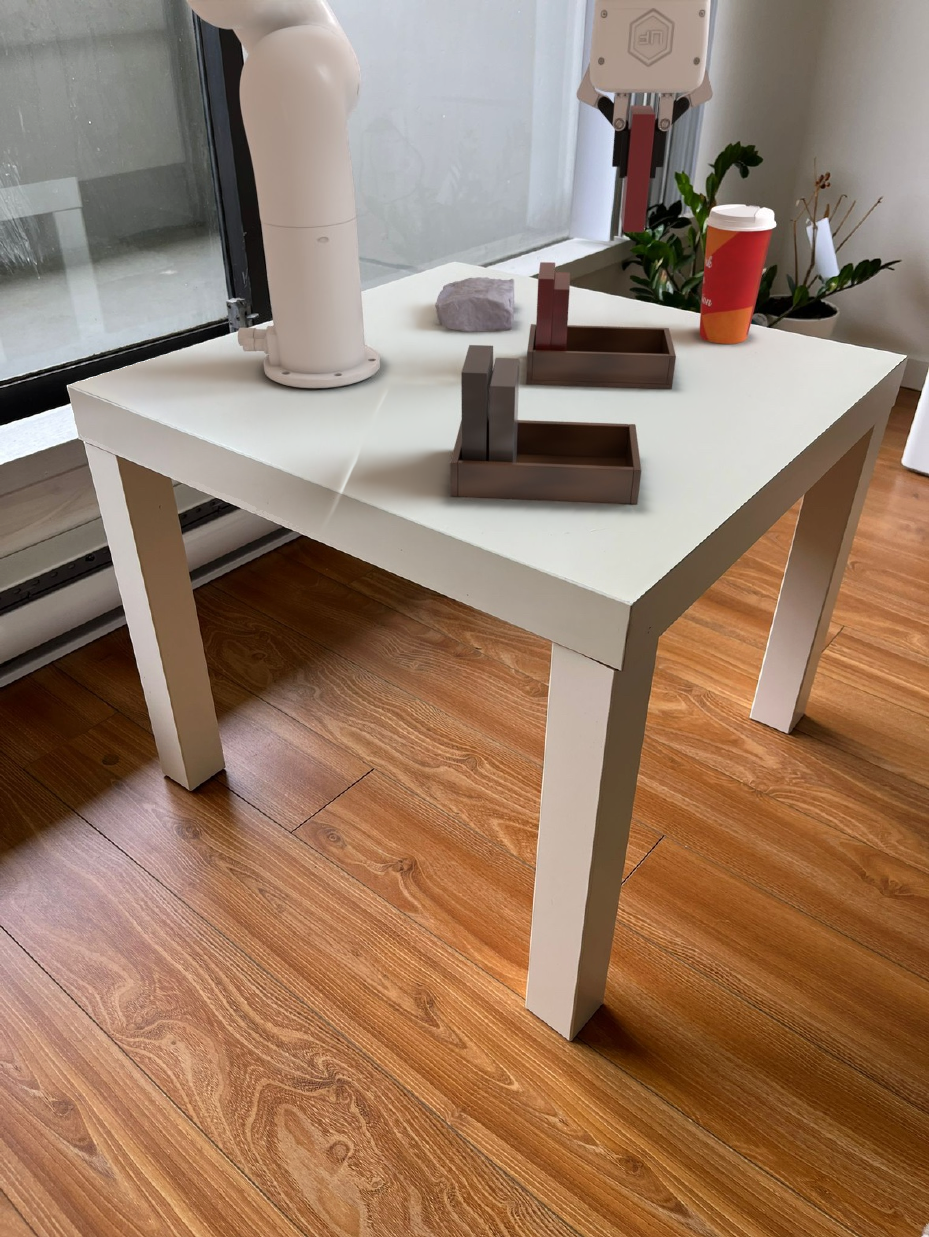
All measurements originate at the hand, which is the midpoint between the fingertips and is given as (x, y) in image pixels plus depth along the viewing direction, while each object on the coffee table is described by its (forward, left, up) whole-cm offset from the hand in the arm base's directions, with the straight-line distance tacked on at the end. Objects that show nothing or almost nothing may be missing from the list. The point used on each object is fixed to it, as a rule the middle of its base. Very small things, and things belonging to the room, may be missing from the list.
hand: (636, 174), depth 90 cm
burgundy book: (0, 0, -5) cm, 5 cm away
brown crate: (-7, -26, -20) cm, 34 cm away
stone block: (-17, +19, -20) cm, 32 cm away
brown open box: (-2, +1, -20) cm, 20 cm away
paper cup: (+13, +14, -20) cm, 28 cm away
